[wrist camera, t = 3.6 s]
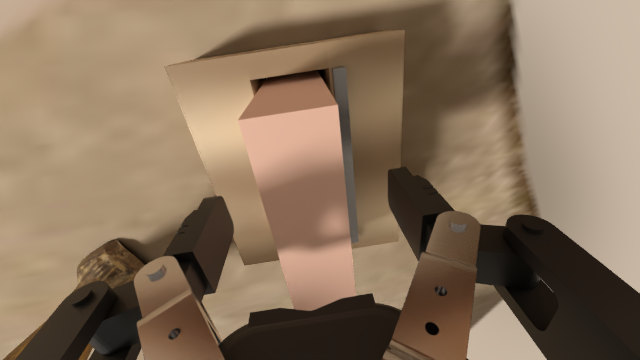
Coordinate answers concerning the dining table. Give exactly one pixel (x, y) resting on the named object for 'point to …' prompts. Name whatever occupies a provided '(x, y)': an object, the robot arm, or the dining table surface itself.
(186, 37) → the dining table surface
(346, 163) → the dispenser
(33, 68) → the dining table surface
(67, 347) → the robot arm
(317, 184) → the pink square prism
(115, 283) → the sculpture
